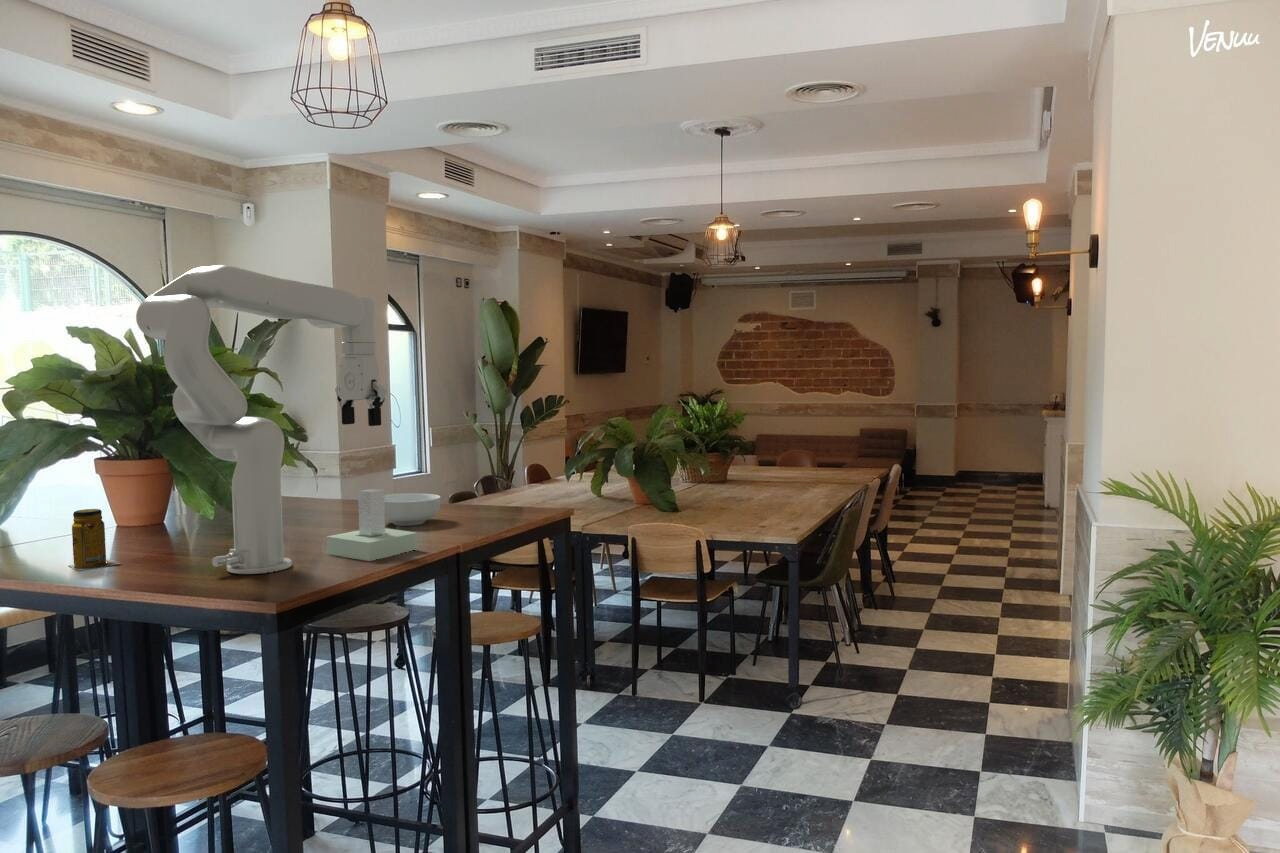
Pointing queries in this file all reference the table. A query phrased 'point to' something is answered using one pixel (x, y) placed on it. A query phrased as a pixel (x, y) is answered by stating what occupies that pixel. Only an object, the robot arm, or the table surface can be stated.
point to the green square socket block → (371, 544)
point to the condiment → (89, 540)
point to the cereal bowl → (411, 508)
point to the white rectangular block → (371, 513)
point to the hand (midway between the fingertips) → (361, 424)
